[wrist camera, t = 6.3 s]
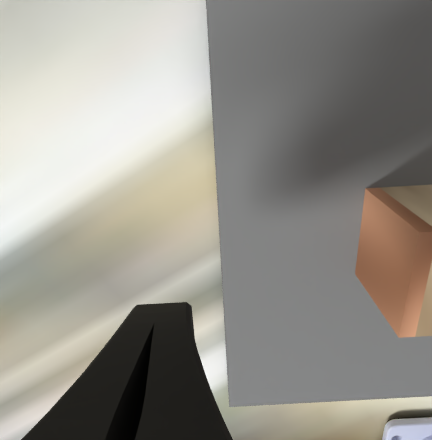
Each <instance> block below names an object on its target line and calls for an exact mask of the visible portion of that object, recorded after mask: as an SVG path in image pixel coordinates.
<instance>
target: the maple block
mask: <svg viewBox="0 0 432 440" xmlns="http://www.w3.org/2000/svg"><path fill="white" fill-rule="evenodd" d="M355 275H356V276H357V278H358V279H359V281H360V282H361V283H362V285H363V286H364V288H365V289H366V291H367V292H368V294H369V295H370V297H371V298H372V299H373V301H374V302H375V304H376V305H377V307H378V308H379V310H380V311H381V313H382V314H383V315H384V317H385V318H386V320H387V321H388V323H389V324H390V326H391V327H392V329H393V330H394V331H395V333H396V334H397V336H398V337H399V338H403V337H421V336H432V185H416V186H398V187H381V188H365V195H364V203H363V212H362V220H361V228H360V236H359V244H358V253H357V261H356V269H355Z"/></svg>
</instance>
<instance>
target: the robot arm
mask: <svg viewBox="0 0 432 440" xmlns="http://www.w3.org/2000/svg"><path fill="white" fill-rule="evenodd" d="M21 440H233V439H232V437H231V435H230V433H229V431H228V429H227V427H226V424H225V422H224V420H223V418H222V415H221V413H220V411H219V408H218V406H217V404H216V401H215V399H214V396H213V394H212V391H211V389H210V386H209V383H208V381H207V378H206V375H205V372H204V369H203V366H202V363H201V360H200V357H199V354H198V350H197V347H196V343H195V338H194V327H193V317H192V307H191V305H189V304H188V303H187V302H182V303H163V304H144V305H136V306H135V307H134V308H133V310H132V311H131V312H130V314H129V315H128V316H127V318H126V319H125V320H124V322H123V323H122V324H121V326H120V327H119V328H118V330H117V331H116V332H115V334H114V335H113V336H112V337H111V339H110V340H109V341H108V343H107V344H106V345H105V347H104V348H103V349H102V350H101V351H100V353H99V354H98V355H97V356H96V358H95V359H94V360H93V361H92V362H91V364H90V365H89V366H88V367H87V369H86V370H85V371H84V372H83V373H82V375H81V376H80V377H79V378H78V379H77V380H76V382H75V383H74V384H73V385H72V386H71V387H70V388H69V389H68V390H67V392H66V393H65V394H64V395H63V396H62V397H61V398H60V399H59V401H58V402H57V403H56V404H55V405H54V406H53V407H52V408H51V409H50V411H49V412H48V413H47V414H46V415H45V416H44V417H43V418H42V419H41V420H40V421H39V422H38V423H37V424H36V425H35V426H34V427H33V428H32V429H31V430H30V431H29V432H28V433H27V434H26V435H25V436H24V437H23V438H22V439H21ZM382 440H432V417H425V418H406V419H393V420H390V421H388V422H387V423H386V425H385V429H384V434H383V438H382Z"/></svg>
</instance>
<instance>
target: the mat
mask: <svg viewBox="0 0 432 440" xmlns="http://www.w3.org/2000/svg"><path fill="white" fill-rule="evenodd" d="M206 8H207V25H208V43H209V60H210V78H211V95H212V113H213V130H214V148H215V165H216V183H217V200H218V217H219V235H220V252H221V270H222V287H223V305H224V322H225V340H226V357H227V375H228V392H229V407H237V406H256V405H275V404H293V403H312V402H331V401H350V400H368V399H387V398H406V397H425V396H432V336H421V337H403V338H399V337H398V336H397V334H396V333H395V331H394V330H393V329H392V327H391V326H390V324H389V323H388V321H387V320H386V318H385V317H384V315H383V314H382V313H381V311H380V310H379V308H378V307H377V305H376V304H375V302H374V301H373V299H372V298H371V297H370V295H369V294H368V292H367V291H366V289H365V288H364V286H363V285H362V283H361V282H360V281H359V279H358V278H357V276H356V275H355V269H356V261H357V253H358V244H359V236H360V228H361V220H362V212H363V203H364V195H365V188H381V187H398V186H416V185H432V0H206Z"/></svg>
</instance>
